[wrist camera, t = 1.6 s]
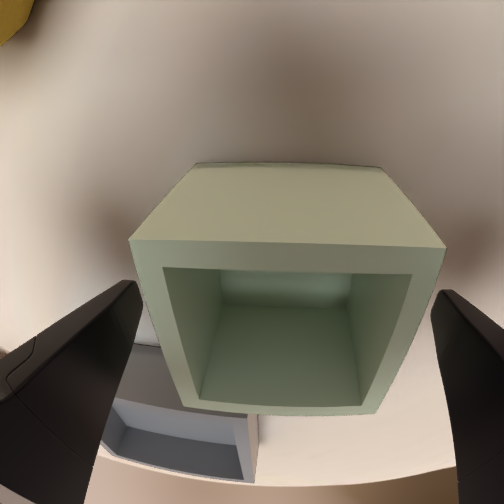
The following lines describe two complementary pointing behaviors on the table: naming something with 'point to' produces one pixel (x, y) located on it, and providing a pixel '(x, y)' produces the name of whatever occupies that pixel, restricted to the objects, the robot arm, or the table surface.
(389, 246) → the small crate
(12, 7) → the flower pot
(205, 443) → the big crate
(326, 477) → the table surface
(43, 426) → the robot arm
